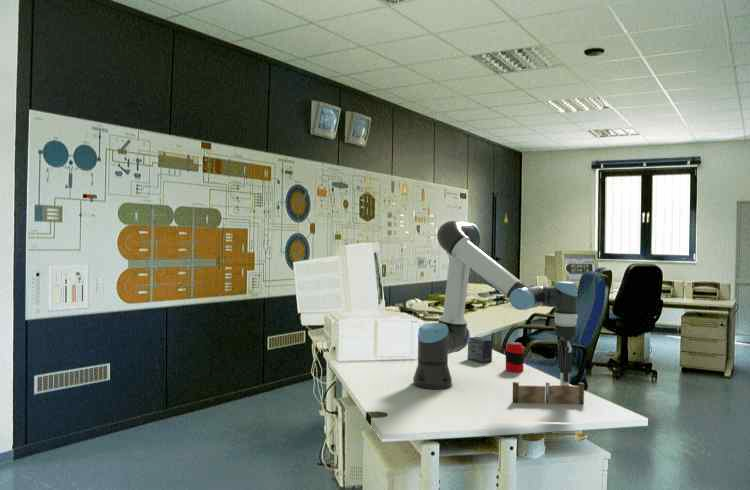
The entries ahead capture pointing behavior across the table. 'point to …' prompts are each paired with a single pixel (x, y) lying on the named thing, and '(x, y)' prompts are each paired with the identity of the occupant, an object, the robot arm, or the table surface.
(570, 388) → the fence gate
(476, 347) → the small box
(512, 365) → the soda can
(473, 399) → the table surface
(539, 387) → the fence fixed
